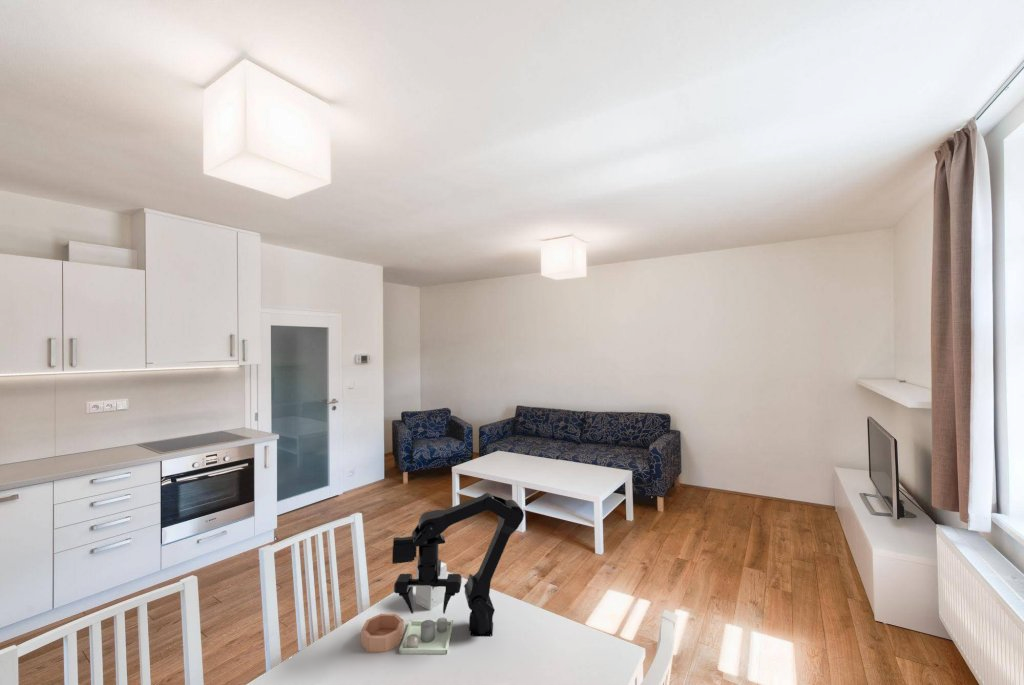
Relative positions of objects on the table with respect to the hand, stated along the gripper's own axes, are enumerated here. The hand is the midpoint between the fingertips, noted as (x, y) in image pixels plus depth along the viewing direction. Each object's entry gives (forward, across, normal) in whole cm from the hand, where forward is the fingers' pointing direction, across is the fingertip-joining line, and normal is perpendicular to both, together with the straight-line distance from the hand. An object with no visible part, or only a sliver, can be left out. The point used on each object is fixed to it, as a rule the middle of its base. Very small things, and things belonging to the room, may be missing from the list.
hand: (428, 612), depth 124 cm
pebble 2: (+7, -3, -4) cm, 9 cm away
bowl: (+8, +13, 0) cm, 15 cm away
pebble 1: (+7, +4, +4) cm, 9 cm away
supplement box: (+8, +3, -18) cm, 20 cm away
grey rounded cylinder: (+7, 0, 0) cm, 7 cm away
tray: (+8, 0, 0) cm, 8 cm away
